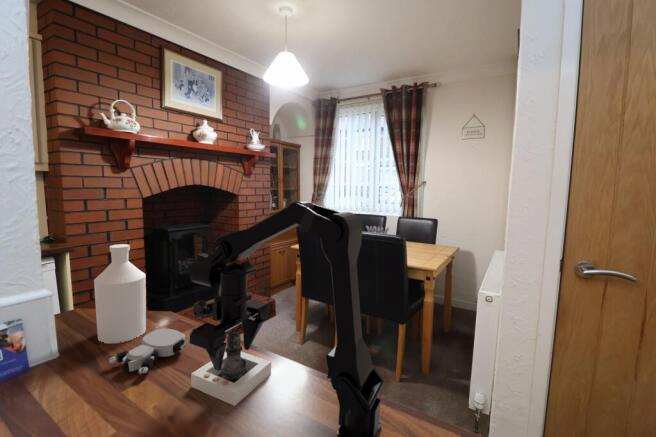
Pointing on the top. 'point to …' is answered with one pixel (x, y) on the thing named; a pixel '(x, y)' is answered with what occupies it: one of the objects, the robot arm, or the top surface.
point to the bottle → (120, 299)
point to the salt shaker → (233, 359)
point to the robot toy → (151, 349)
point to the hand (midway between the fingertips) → (232, 359)
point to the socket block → (225, 389)
